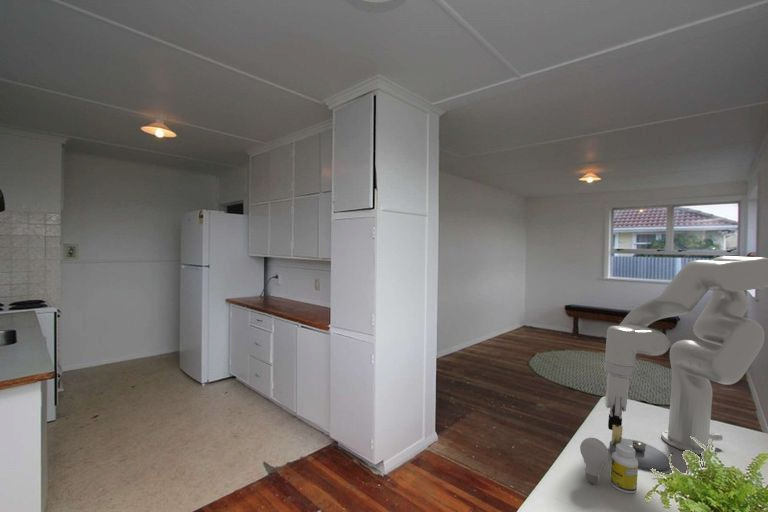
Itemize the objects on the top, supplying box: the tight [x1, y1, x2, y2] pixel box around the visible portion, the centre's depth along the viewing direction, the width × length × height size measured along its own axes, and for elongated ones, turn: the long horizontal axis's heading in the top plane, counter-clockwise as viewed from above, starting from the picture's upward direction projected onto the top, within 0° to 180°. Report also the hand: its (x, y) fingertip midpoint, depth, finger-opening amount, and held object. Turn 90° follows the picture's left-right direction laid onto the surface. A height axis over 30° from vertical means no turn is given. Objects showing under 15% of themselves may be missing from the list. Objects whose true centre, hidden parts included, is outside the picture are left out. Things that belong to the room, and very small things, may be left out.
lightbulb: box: [579, 437, 610, 485], centre depth 89 cm, size 6×6×11 cm
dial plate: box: [608, 437, 670, 472], centre depth 103 cm, size 14×14×2 cm
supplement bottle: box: [609, 443, 639, 494], centre depth 89 cm, size 5×5×10 cm
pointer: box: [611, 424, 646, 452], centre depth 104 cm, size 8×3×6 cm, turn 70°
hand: (614, 429), depth 108 cm, fingers closed
